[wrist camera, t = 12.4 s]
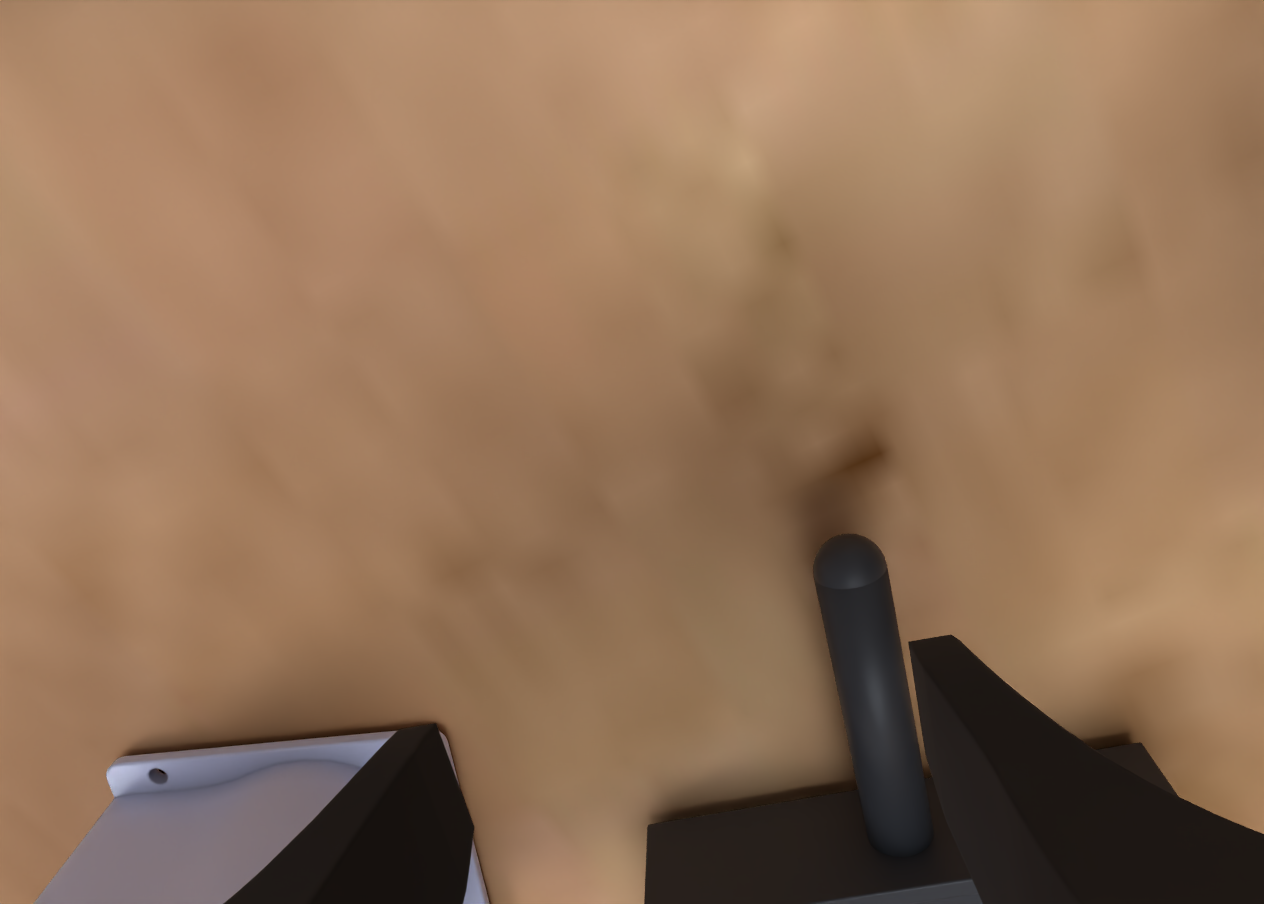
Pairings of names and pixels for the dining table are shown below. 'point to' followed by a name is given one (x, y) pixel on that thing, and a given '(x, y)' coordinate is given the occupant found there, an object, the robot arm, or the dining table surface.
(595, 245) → the dining table surface
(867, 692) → the scoop pan
